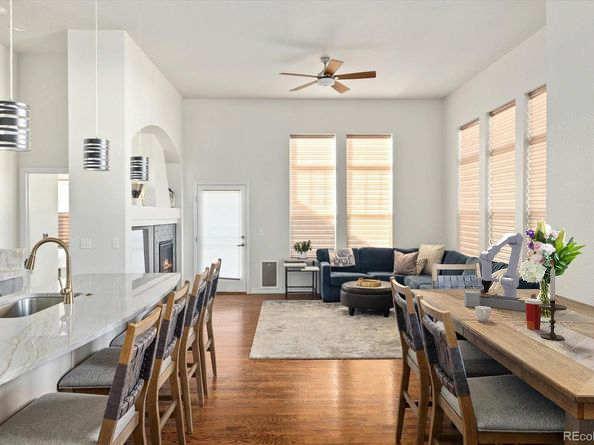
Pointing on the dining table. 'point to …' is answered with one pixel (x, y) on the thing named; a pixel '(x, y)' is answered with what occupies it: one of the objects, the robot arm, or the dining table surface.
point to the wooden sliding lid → (486, 294)
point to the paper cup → (533, 313)
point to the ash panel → (527, 298)
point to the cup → (483, 313)
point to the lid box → (503, 302)
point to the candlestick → (552, 309)
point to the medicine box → (472, 299)
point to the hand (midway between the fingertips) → (486, 292)
